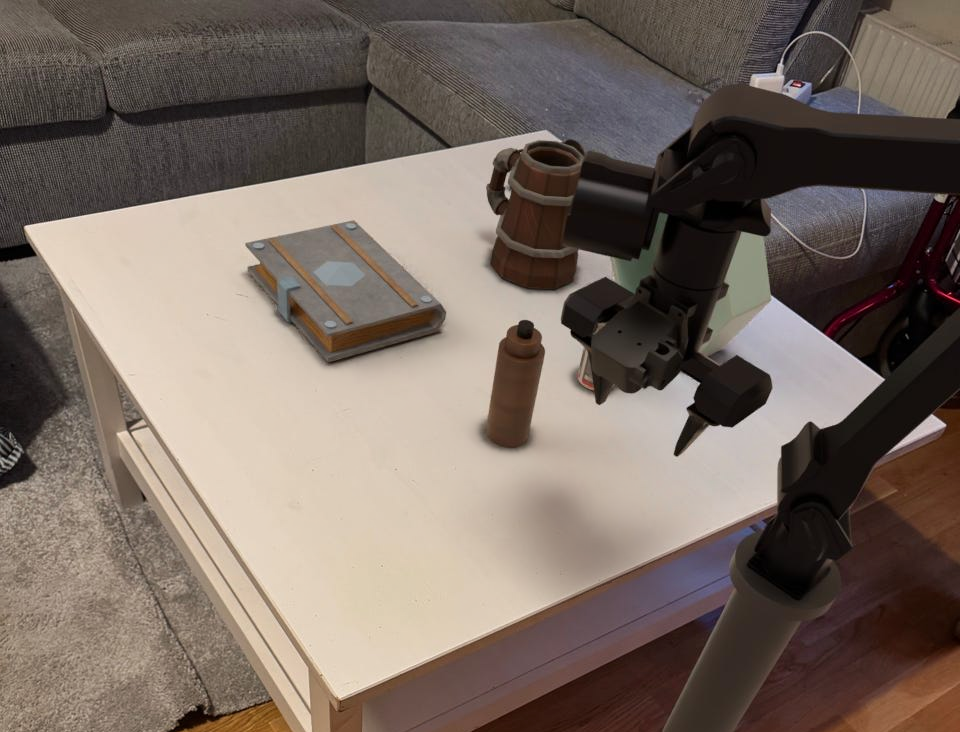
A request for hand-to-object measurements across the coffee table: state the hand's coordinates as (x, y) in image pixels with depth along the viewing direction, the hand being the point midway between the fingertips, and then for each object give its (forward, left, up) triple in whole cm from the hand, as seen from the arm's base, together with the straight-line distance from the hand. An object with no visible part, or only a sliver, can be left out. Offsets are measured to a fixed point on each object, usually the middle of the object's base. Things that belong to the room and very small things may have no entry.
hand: (638, 428), depth 84 cm
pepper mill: (+17, -3, -13) cm, 22 cm away
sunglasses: (+55, -52, -13) cm, 77 cm away
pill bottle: (+17, -19, -13) cm, 29 cm away
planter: (+17, -34, -13) cm, 40 cm away
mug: (+41, -32, -13) cm, 54 cm away
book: (+47, -5, -13) cm, 49 cm away
